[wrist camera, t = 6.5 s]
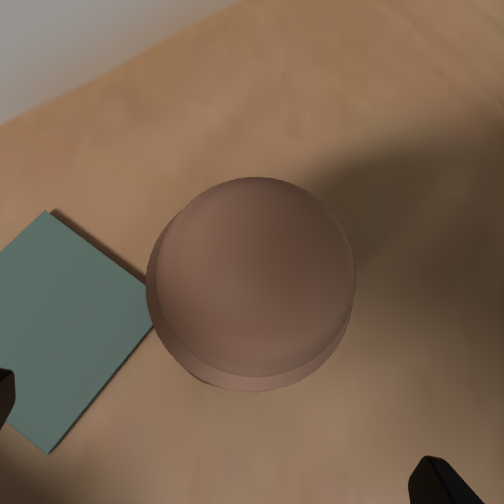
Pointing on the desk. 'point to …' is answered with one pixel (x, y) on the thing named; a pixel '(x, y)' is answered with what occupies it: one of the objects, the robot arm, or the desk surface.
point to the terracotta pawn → (251, 285)
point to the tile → (63, 326)
